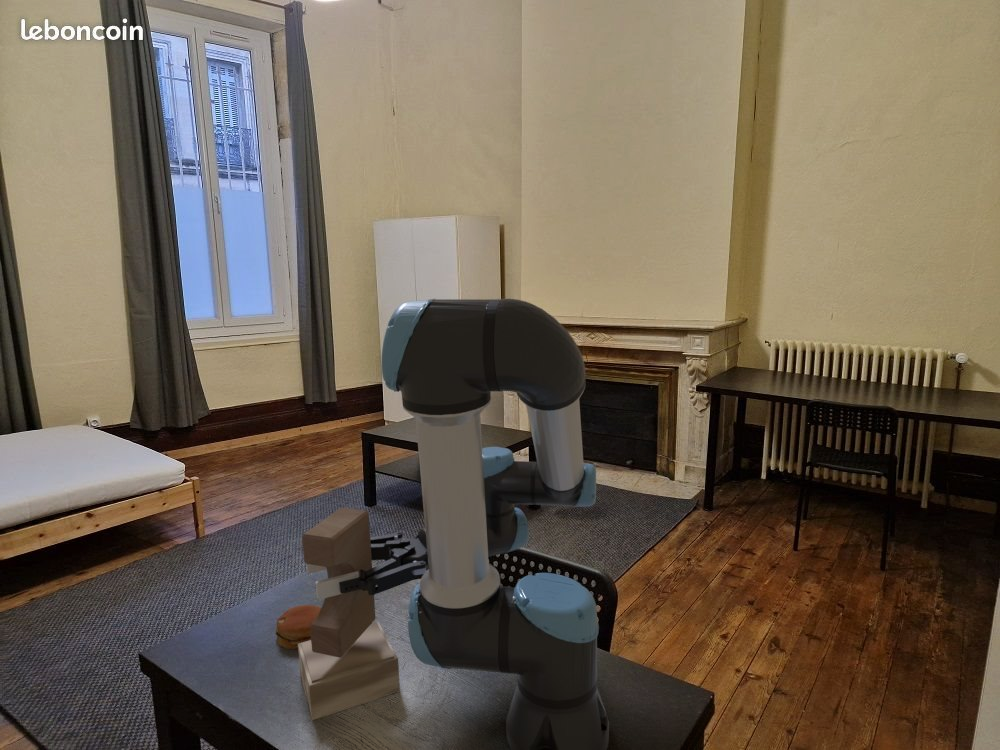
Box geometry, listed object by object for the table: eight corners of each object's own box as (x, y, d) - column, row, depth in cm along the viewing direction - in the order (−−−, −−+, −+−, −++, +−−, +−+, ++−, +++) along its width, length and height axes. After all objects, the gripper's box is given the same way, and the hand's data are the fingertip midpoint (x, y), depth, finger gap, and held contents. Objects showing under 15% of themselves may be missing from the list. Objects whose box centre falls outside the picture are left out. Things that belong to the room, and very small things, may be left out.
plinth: (399, 691, 101) (397, 656, 100) (312, 720, 95) (309, 683, 94) (380, 651, 111) (378, 619, 110) (300, 675, 105) (297, 642, 104)
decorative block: (340, 660, 94) (331, 539, 91) (309, 652, 96) (298, 534, 92) (377, 619, 105) (370, 510, 101) (349, 614, 107) (340, 506, 103)
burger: (337, 635, 117) (336, 613, 116) (291, 658, 111) (289, 634, 110) (312, 615, 124) (310, 594, 123) (267, 635, 118) (265, 613, 117)
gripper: (469, 593, 99) (326, 633, 89) (425, 541, 118) (303, 570, 108) (467, 550, 98) (321, 586, 88) (423, 504, 116) (299, 530, 106)
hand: (311, 577), depth 98 cm, fingers closed on decorative block, 8 cm apart
